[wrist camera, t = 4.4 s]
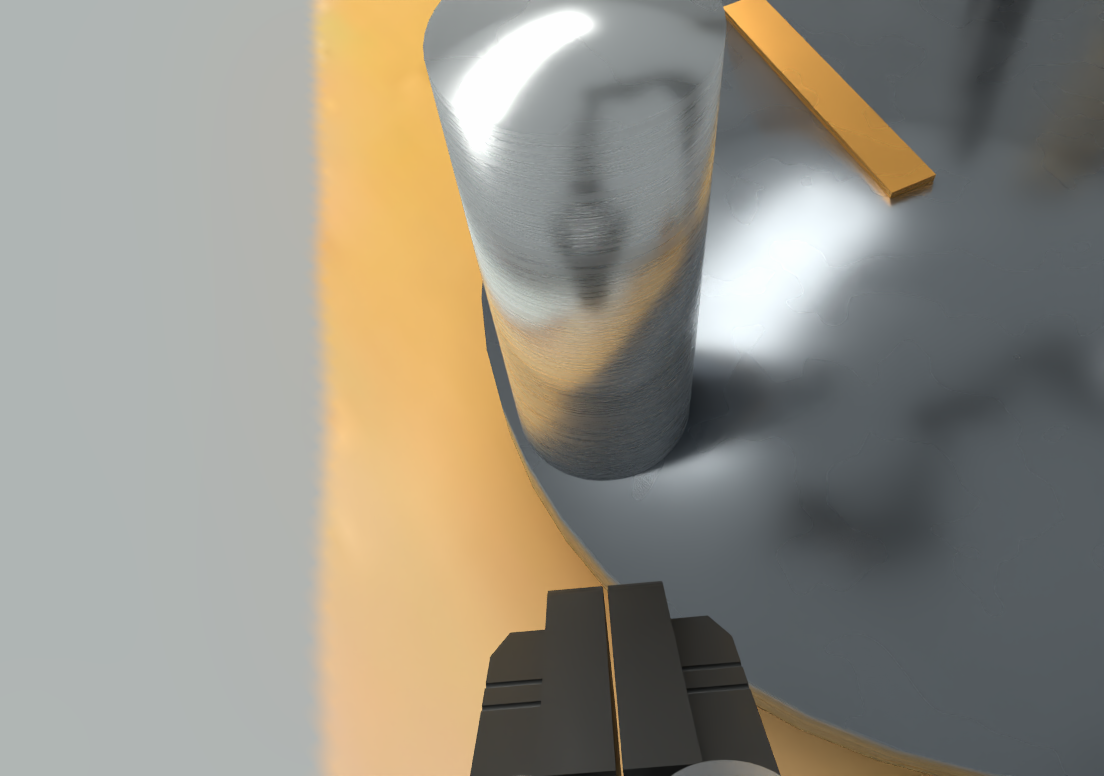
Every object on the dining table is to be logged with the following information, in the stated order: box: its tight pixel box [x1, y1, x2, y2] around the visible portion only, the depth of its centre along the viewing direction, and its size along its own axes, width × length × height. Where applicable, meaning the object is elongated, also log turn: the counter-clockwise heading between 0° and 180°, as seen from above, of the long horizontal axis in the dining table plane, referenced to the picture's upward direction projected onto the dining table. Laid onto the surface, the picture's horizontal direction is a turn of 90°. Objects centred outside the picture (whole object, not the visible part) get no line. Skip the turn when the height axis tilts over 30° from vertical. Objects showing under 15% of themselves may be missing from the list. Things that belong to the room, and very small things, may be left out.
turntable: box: [423, 0, 1104, 776], centre depth 16 cm, size 22×22×10 cm
